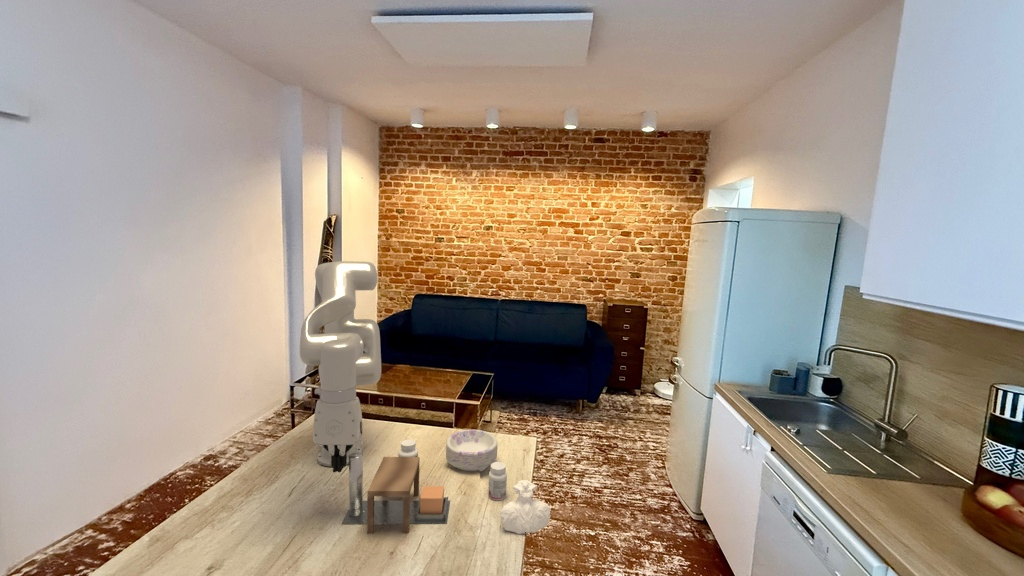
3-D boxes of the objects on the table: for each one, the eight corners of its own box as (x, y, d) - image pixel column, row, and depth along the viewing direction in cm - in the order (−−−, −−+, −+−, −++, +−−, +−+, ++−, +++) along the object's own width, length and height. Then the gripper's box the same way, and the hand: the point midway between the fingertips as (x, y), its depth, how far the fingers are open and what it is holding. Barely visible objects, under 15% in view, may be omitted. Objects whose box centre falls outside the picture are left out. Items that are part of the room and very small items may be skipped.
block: (420, 518, 99) (420, 498, 99) (423, 505, 104) (423, 486, 104) (441, 518, 100) (441, 498, 99) (443, 505, 105) (444, 486, 104)
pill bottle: (487, 490, 114) (488, 460, 113) (505, 490, 114) (506, 460, 114) (488, 501, 109) (489, 470, 108) (506, 500, 110) (508, 470, 109)
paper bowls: (463, 485, 116) (464, 458, 115) (436, 462, 128) (436, 437, 127) (507, 468, 125) (508, 443, 125) (478, 448, 137) (478, 424, 136)
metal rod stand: (341, 528, 96) (340, 465, 95) (353, 504, 105) (353, 446, 104) (447, 528, 98) (448, 465, 96) (450, 504, 107) (451, 446, 105)
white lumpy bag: (548, 531, 102) (542, 480, 108) (555, 530, 95) (549, 476, 101) (498, 536, 100) (496, 483, 105) (503, 535, 93) (500, 479, 99)
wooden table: (328, 552, 89) (327, 502, 88) (360, 489, 112) (360, 449, 111) (468, 550, 91) (469, 502, 90) (471, 489, 114) (472, 449, 113)
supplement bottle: (412, 481, 117) (413, 448, 116) (394, 478, 118) (395, 445, 117) (420, 471, 122) (421, 439, 121) (403, 469, 123) (403, 437, 122)
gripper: (298, 399, 94) (299, 477, 95) (366, 400, 94) (366, 478, 96) (312, 387, 101) (313, 460, 103) (375, 388, 102) (375, 461, 104)
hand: (339, 469), depth 100 cm, fingers closed
